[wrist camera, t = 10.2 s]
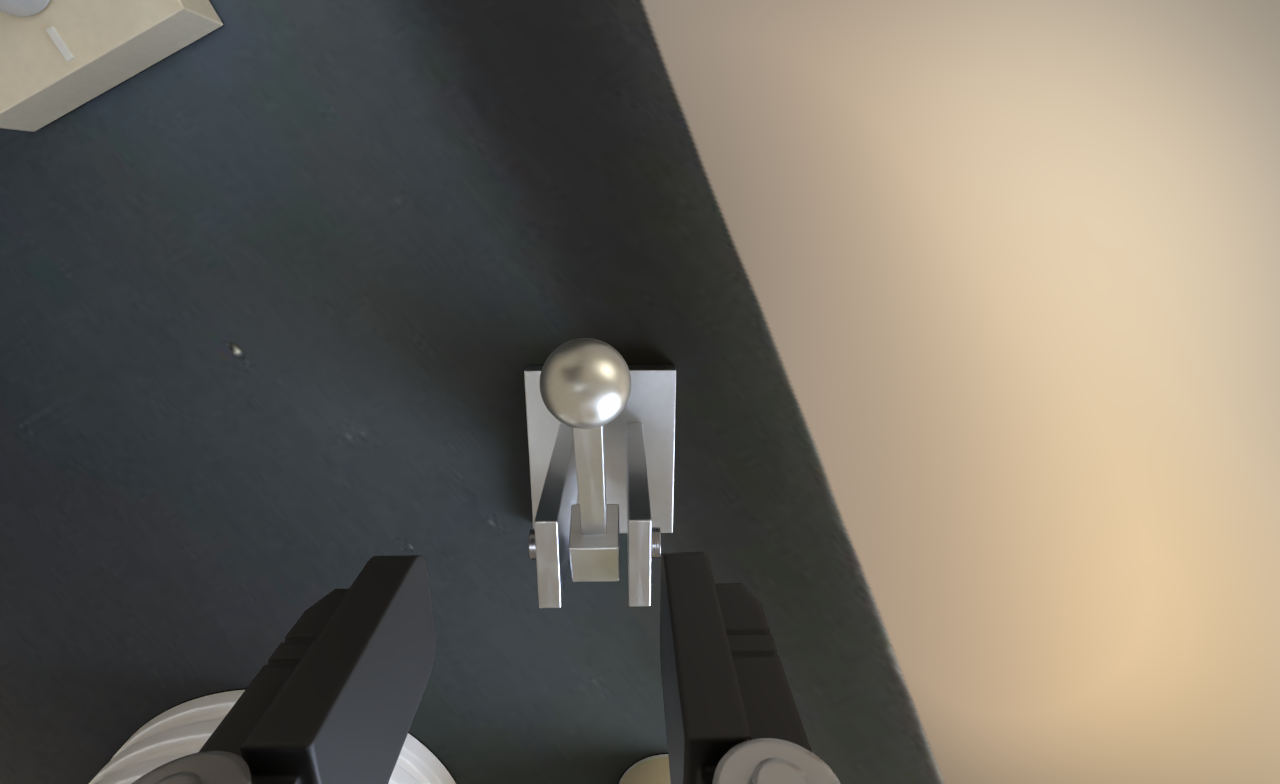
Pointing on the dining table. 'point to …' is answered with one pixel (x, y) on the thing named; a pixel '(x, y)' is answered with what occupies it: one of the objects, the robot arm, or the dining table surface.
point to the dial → (22, 7)
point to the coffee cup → (648, 771)
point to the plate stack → (191, 724)
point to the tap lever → (589, 446)
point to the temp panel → (87, 51)
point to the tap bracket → (632, 479)
